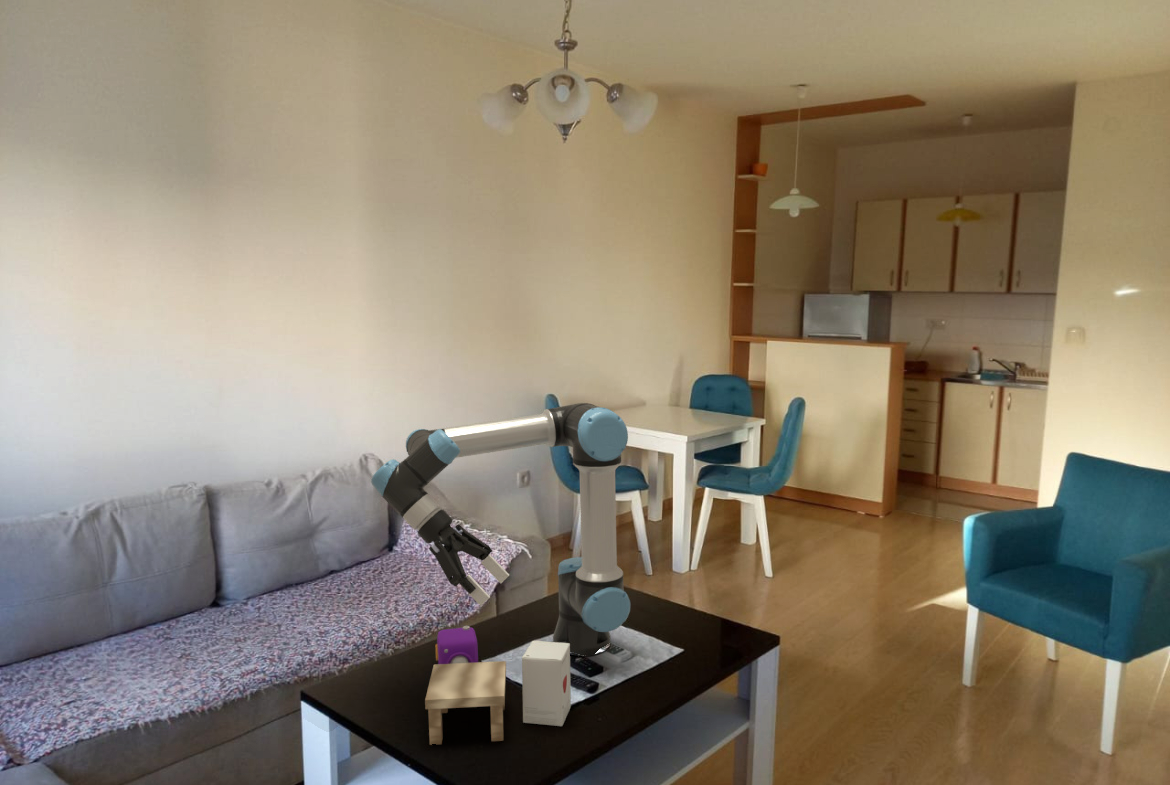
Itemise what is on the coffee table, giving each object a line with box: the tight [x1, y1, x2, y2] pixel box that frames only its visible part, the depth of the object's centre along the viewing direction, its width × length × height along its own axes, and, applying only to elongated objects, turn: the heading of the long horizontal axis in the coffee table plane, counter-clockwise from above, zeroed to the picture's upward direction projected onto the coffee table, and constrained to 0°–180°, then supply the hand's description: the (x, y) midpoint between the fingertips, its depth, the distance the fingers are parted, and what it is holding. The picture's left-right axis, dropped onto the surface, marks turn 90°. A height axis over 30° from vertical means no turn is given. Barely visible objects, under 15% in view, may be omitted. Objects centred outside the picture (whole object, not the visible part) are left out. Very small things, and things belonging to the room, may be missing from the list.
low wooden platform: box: [424, 660, 507, 746], centre depth 173 cm, size 16×16×10 cm
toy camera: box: [434, 625, 479, 664], centre depth 196 cm, size 11×14×10 cm
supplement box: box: [521, 640, 572, 727], centre depth 176 cm, size 9×9×15 cm
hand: (495, 590), depth 176 cm, fingers open, 13 cm apart
